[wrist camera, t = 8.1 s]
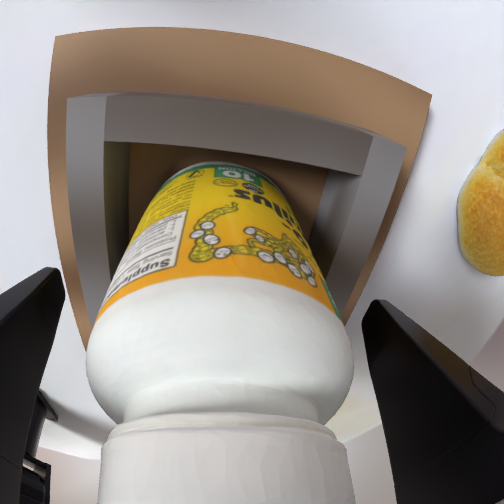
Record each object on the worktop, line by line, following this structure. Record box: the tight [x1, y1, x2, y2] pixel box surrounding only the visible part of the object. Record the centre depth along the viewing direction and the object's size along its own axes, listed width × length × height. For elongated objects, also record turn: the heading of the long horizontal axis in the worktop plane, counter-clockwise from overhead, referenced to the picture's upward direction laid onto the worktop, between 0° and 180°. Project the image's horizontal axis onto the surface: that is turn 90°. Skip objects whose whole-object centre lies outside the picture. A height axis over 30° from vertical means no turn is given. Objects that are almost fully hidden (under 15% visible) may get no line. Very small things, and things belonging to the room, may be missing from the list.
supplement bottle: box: [86, 161, 355, 504], centre depth 7 cm, size 5×5×10 cm
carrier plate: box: [47, 27, 432, 352], centre depth 12 cm, size 22×14×4 cm, turn 170°
